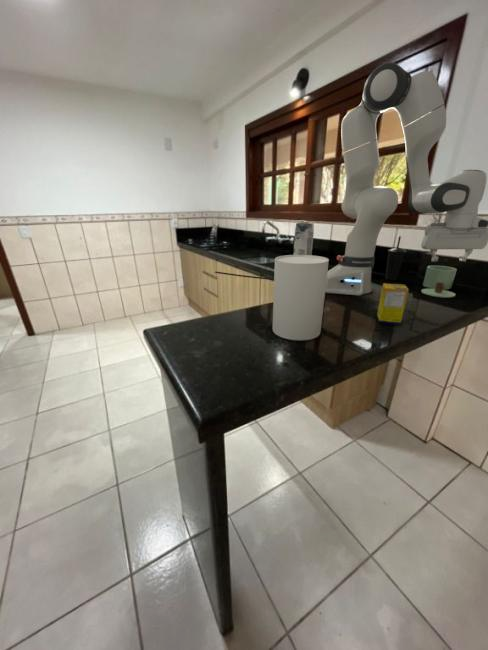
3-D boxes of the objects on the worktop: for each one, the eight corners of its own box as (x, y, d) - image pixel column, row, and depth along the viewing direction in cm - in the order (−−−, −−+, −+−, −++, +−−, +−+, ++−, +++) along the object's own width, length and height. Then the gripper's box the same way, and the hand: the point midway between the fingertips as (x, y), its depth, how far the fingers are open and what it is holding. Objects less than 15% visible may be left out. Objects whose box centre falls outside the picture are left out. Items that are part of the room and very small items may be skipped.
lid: (428, 298, 100) (432, 285, 98) (415, 290, 110) (419, 278, 108) (461, 299, 98) (465, 286, 96) (445, 291, 109) (449, 279, 107)
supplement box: (396, 318, 82) (405, 284, 78) (400, 325, 77) (409, 289, 73) (376, 316, 84) (382, 282, 80) (378, 323, 79) (385, 287, 75)
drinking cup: (402, 280, 126) (413, 237, 118) (386, 280, 126) (396, 237, 118) (394, 277, 133) (403, 235, 125) (379, 277, 133) (387, 235, 125)
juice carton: (310, 270, 149) (315, 219, 138) (308, 274, 140) (312, 220, 129) (295, 269, 152) (298, 219, 141) (291, 273, 143) (294, 220, 132)
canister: (262, 328, 76) (264, 258, 68) (294, 317, 84) (299, 253, 76) (297, 345, 66) (304, 266, 58) (330, 331, 74) (339, 259, 66)
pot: (428, 290, 111) (434, 270, 107) (418, 284, 120) (423, 265, 116) (455, 291, 109) (462, 270, 106) (442, 284, 118) (448, 265, 115)
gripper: (431, 223, 93) (421, 262, 98) (497, 222, 89) (483, 263, 95) (423, 222, 98) (414, 259, 104) (485, 221, 95) (472, 260, 100)
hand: (448, 261), depth 99 cm, fingers open, 8 cm apart
